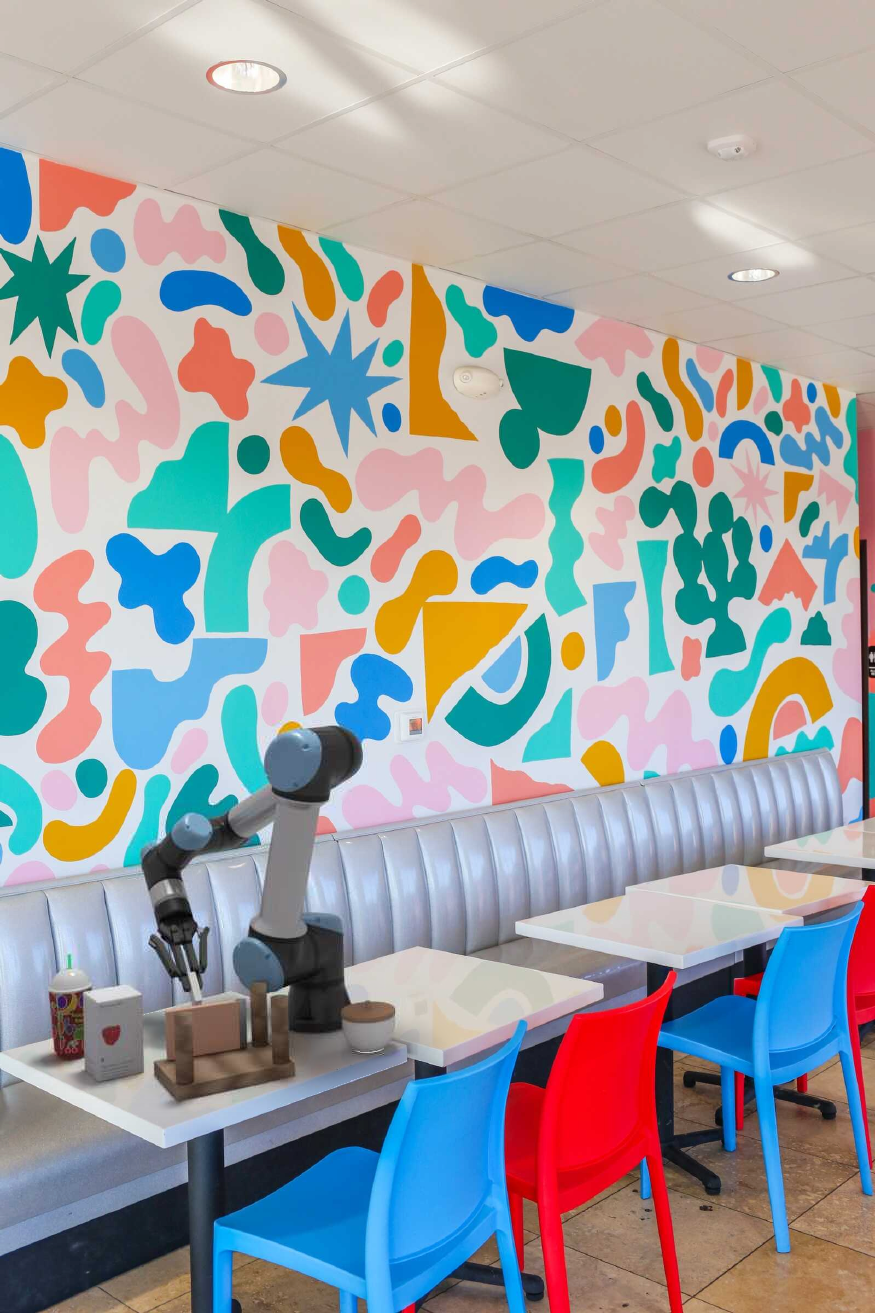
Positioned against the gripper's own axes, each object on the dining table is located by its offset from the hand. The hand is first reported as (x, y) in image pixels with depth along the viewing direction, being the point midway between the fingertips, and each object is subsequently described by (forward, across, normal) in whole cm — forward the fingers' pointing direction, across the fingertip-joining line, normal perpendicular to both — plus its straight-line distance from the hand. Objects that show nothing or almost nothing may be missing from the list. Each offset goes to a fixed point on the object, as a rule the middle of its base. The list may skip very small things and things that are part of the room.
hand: (197, 1004), depth 233 cm
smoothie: (-1, +22, -14) cm, 27 cm away
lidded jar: (+20, -28, +7) cm, 36 cm away
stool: (+18, +1, +6) cm, 19 cm away
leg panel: (+12, +2, +3) cm, 13 cm away
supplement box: (+9, +18, -4) cm, 20 cm away
